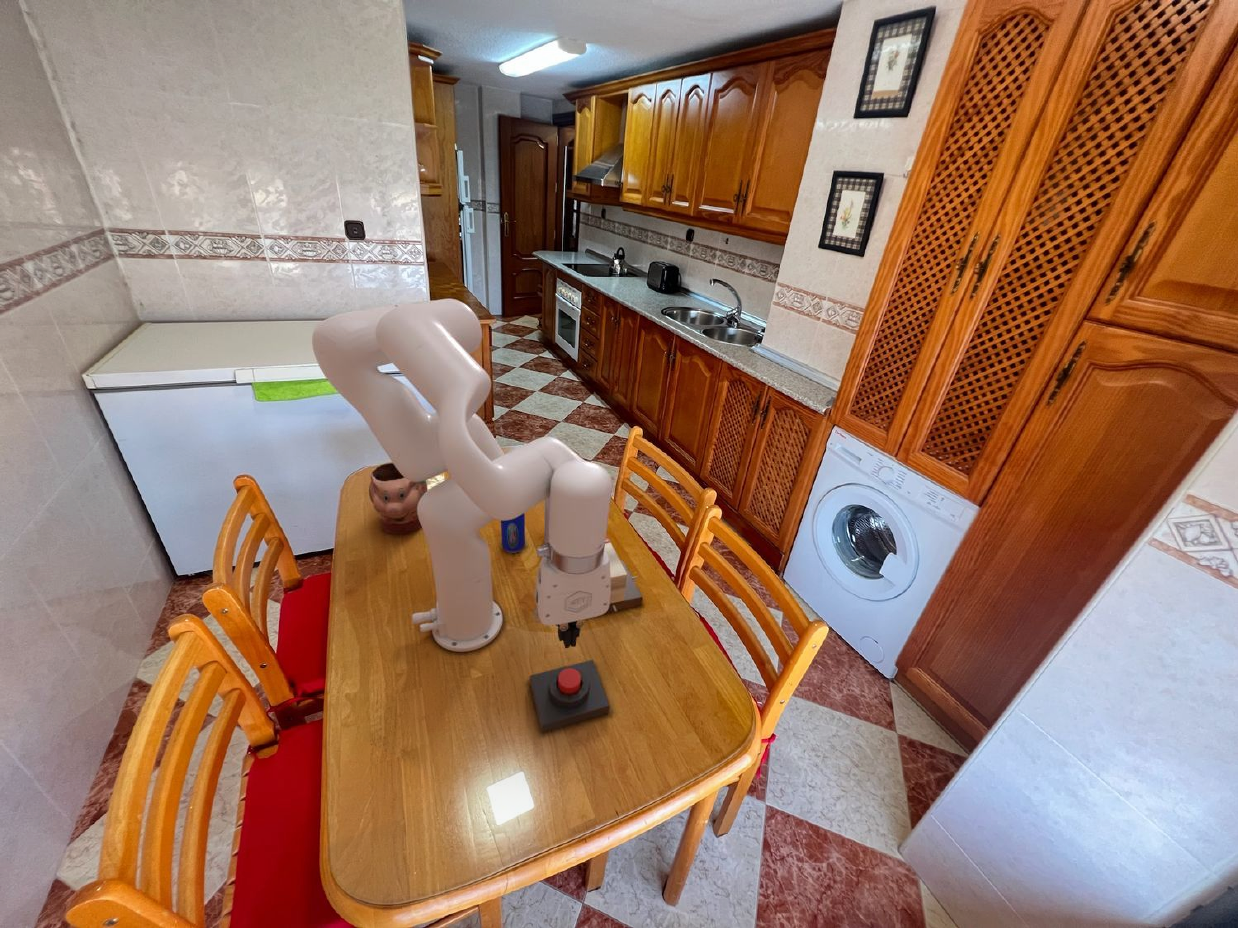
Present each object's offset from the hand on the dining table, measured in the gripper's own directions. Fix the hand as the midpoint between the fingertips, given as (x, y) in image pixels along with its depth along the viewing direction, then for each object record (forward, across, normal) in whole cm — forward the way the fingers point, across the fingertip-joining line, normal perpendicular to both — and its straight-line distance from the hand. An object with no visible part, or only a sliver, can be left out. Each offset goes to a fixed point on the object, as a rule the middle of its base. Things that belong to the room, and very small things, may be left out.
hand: (568, 639), depth 75 cm
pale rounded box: (+11, +13, +20) cm, 26 cm away
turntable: (+14, +14, +20) cm, 28 cm away
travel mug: (+14, +8, +37) cm, 40 cm away
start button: (+10, +1, -1) cm, 10 cm away
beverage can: (+15, -2, +39) cm, 41 cm away
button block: (+13, +1, -1) cm, 13 cm away
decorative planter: (+15, -25, +55) cm, 63 cm away
